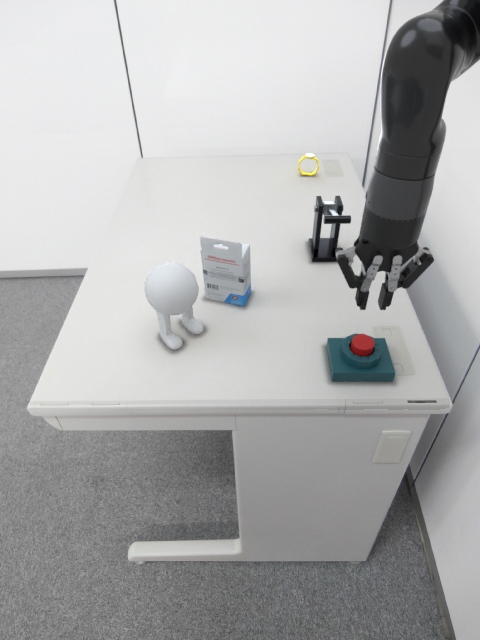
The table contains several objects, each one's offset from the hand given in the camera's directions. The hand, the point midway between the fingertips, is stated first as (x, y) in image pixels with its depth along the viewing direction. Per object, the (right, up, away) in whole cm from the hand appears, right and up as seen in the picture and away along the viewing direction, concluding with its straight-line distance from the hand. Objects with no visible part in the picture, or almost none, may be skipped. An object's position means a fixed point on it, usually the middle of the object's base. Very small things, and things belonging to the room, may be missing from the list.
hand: (371, 306), depth 67 cm
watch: (0, +41, +63) cm, 75 cm away
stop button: (0, -7, +6) cm, 9 cm away
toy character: (-31, -5, +16) cm, 35 cm away
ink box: (-22, +3, +23) cm, 32 cm away
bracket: (-1, +14, +34) cm, 36 cm away
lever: (-1, +18, +23) cm, 29 cm away
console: (0, -10, +9) cm, 13 cm away
